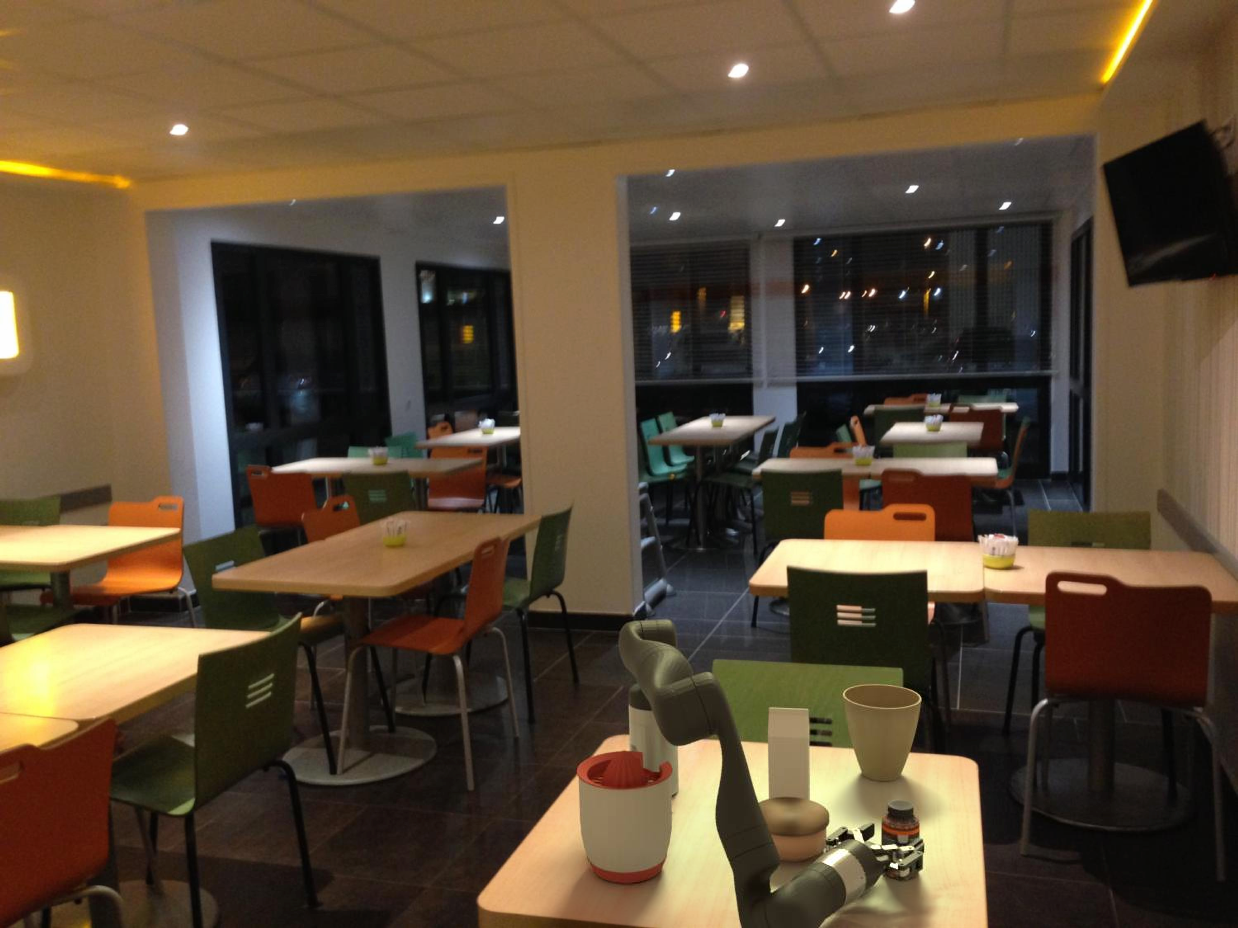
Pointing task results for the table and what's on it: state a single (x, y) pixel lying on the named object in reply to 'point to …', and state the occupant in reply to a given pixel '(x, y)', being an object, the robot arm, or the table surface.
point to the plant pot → (881, 727)
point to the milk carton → (788, 753)
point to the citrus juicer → (625, 815)
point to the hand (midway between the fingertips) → (896, 835)
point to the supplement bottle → (899, 827)
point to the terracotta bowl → (799, 846)
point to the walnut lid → (794, 816)
